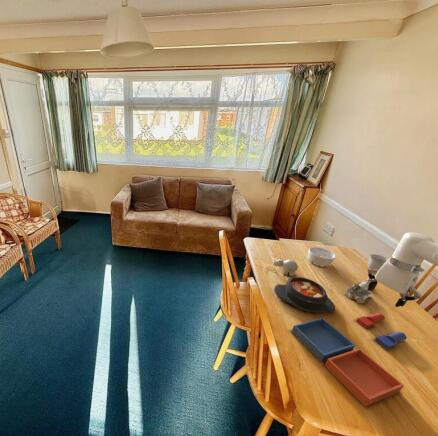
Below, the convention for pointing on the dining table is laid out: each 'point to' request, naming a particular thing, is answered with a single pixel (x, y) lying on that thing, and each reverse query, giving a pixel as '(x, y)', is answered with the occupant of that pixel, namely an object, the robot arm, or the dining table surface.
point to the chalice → (374, 266)
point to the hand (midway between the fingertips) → (383, 297)
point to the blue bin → (322, 339)
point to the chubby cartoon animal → (287, 266)
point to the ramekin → (320, 260)
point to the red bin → (363, 376)
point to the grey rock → (358, 293)
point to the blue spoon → (390, 339)
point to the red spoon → (370, 320)
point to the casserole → (305, 295)
